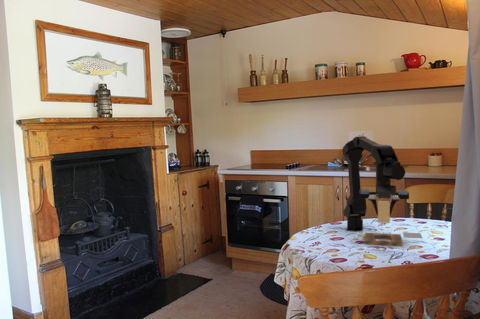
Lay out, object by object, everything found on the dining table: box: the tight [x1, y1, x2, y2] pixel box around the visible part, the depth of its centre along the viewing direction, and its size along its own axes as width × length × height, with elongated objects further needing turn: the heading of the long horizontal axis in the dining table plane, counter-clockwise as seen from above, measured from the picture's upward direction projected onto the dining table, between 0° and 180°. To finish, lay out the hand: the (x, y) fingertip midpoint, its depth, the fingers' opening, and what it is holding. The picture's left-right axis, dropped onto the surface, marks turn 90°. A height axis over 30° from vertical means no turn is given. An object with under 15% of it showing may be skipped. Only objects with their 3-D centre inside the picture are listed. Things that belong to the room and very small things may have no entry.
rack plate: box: [364, 232, 403, 250], centre depth 165 cm, size 14×12×3 cm
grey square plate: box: [402, 232, 423, 239], centre depth 172 cm, size 7×8×1 cm
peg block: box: [377, 200, 391, 224], centre depth 164 cm, size 4×4×8 cm
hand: (383, 215), depth 164 cm, fingers closed on peg block, 4 cm apart
